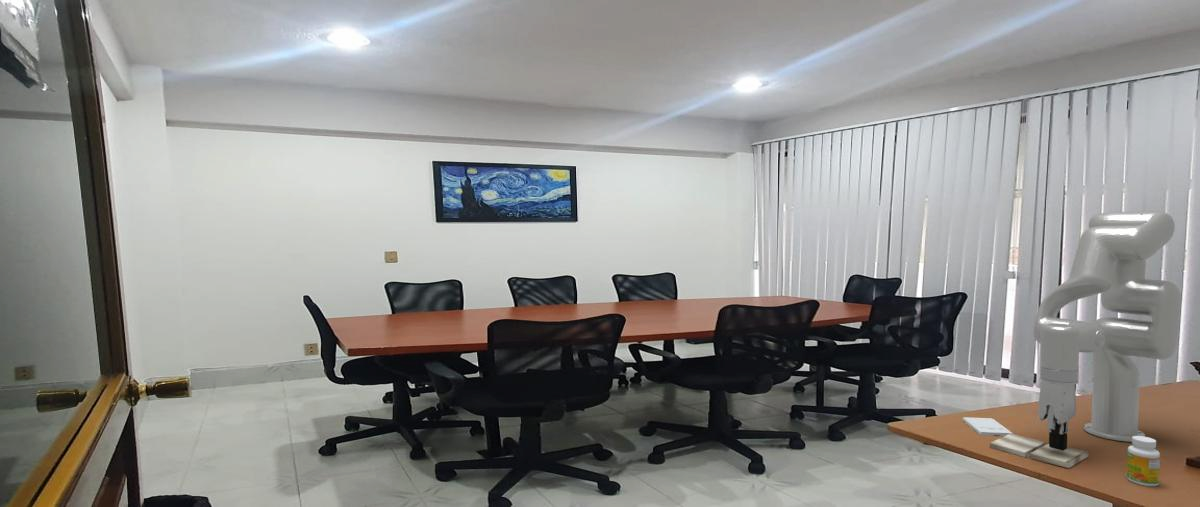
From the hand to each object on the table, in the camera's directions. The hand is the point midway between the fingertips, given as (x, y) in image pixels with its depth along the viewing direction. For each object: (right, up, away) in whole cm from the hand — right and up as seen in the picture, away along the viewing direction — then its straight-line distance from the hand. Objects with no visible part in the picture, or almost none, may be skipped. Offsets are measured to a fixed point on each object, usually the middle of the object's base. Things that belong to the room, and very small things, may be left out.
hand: (1058, 448), depth 149 cm
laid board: (-5, -2, +7) cm, 9 cm away
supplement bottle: (+8, -3, -14) cm, 17 cm away
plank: (0, -2, -1) cm, 2 cm away
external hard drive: (-4, -2, +21) cm, 22 cm away
